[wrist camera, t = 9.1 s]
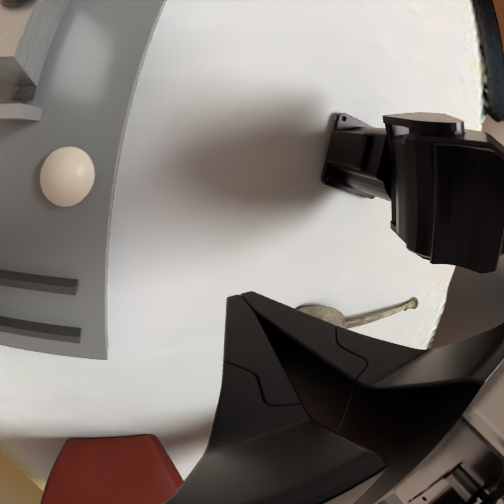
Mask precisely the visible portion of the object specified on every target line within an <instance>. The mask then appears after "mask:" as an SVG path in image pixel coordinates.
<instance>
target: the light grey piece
mask: <svg viewBox="0 0 504 504" xmlns="http://www.w3.org/2000/svg"><path fill="white" fill-rule="evenodd" d="M69 1H70V0H0V79H2V80H3V81H4V82H6V83H7V84H8V85H10V86H11V87H14V89H13V93H12V97H11V101H18V102H31V101H33V100H34V96H35V92H36V88H37V86H38V83H39V79H40V76H41V72H42V69H43V66H44V63H45V60H46V57H47V54H48V51H49V48H50V45H51V43H52V40H53V38H54V35H55V32H56V30H57V28H58V25H59V23H60V21H61V18H62V16H63V14H64V12H65V10H66V7H67V5H68V3H69Z"/></svg>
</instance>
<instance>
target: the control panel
mask: <svg viewBox="0 0 504 504" xmlns="http://www.w3.org/2000/svg"><path fill="white" fill-rule="evenodd" d="M165 3H166V0H70V1H69V3H68V5H67V7H66V10H65V12H64V14H63V16H62V18H61V21H60V23H59V25H58V28H57V30H56V32H55V35H54V38H53V40H52V43H51V45H50V48H49V51H48V54H47V57H46V60H45V63H44V66H43V69H42V72H41V76H40V79H39V83H38V86H37V88H36V92H35V96H34V100H33V101H31V102H18V101H11V97H12V93H13V89H14V87H11V86H10V85H8V84H7V83H6V82H4V81H3V80H2V79H0V345H3V346H8V347H13V348H18V349H24V350H29V351H35V352H41V353H48V354H55V355H62V356H70V357H79V358H89V359H99V360H107V356H108V332H107V267H108V248H109V234H110V223H111V213H112V204H113V196H114V189H115V182H116V175H117V169H118V163H119V157H120V152H121V147H122V141H123V137H124V132H125V127H126V123H127V118H128V114H129V110H130V106H131V102H132V98H133V95H134V91H135V87H136V84H137V80H138V77H139V74H140V70H141V67H142V64H143V61H144V58H145V55H146V52H147V49H148V46H149V43H150V40H151V38H152V35H153V32H154V30H155V27H156V24H157V22H158V19H159V17H160V14H161V12H162V10H163V7H164V5H165Z"/></svg>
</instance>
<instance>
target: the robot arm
mask: <svg viewBox="0 0 504 504" xmlns="http://www.w3.org/2000/svg"><path fill="white" fill-rule="evenodd" d="M342 116H343V118H344V120H343V121H342ZM383 122H384V123H385V127H386V128H374V127H372V126H370V125H368V124H366V123H364V122H362V121H360V120H358V119H356V118H354V117H352V116H350V115H348V114H346V113H339V114H338V115H337V118H336V122H335V126H334V131H333V133H332V137H331V141H330V145H329V149H328V152H327V156H326V162H325V166H324V170H323V174H322V177H321V181H322V183H323V184H325V185H328V186H331V187H335V188H338V189H341V190H345V191H348V192H351V193H354V194H358V195H361V196H364V197H367V198H370V199H373V198H375V196H377V197H379V198H382V199H385V200H388V201H391V205H392V221H391V229H392V230H393V231H394V232H395V233H396V234H397V235H398V236H399V237H400V238H401V239H402V240H403V241H404V242H405V243H406V248H407V249H408V250H410V251H411V252H413V253H415V254H417V255H418V256H420V257H422V258H423V259H427V260H430V263H431V264H450V265H456V266H460V267H464V268H467V269H470V270H472V271H475V272H478V273H488V272H493V271H495V270H496V269H497V266H498V262H499V257H500V256H502V255H504V146H503V145H502V144H501V143H499V142H498V141H497V140H496V139H495V138H493V137H492V136H491V135H490V134H488V133H486V132H480V131H474V130H467V129H464V121H462V120H460V119H457V118H454V117H452V116H449V115H446V114H440V113H423V112H418V113H405V114H394V115H384V116H383ZM327 177H328V178H329V179H328V181H326V179H327ZM394 492H395V493H396V494H397V496H398V497H399V498H400V499H401V501H402V502H403V503H404V504H475V503H476V502H477V498H478V497H479V498H480V499H481V500H482V501H483V502H481V503H480V504H504V323H503V324H501V325H499V326H497V327H496V328H493V329H491V330H489V331H486V332H484V333H481V334H478V335H476V336H473V337H470V338H467V339H465V340H462V341H459V342H456V343H453V344H450V345H447V346H443V347H440V348H437V349H431V350H420V349H414V348H410V347H406V346H402V345H398V344H394V343H390V342H387V341H383V340H379V339H376V338H372V337H369V336H365V335H362V334H359V333H356V332H353V331H351V330H348V329H345V328H343V327H340V326H336V325H335V324H332V323H329V322H327V321H324V320H322V319H319V318H317V317H314V316H312V315H309V314H307V313H304V312H302V311H299V310H297V309H294V308H292V307H289V306H287V305H284V304H282V303H279V302H277V301H275V300H272V299H270V298H267V297H265V296H263V295H260V294H258V293H255V292H253V291H250V292H246V293H242V294H240V295H234V296H230V297H227V302H226V319H225V337H224V357H223V374H222V384H221V390H220V396H219V401H218V405H217V409H216V413H215V417H214V422H213V426H212V430H211V434H210V438H209V441H208V444H207V447H206V450H205V452H204V454H203V456H202V458H201V459H200V460H199V462H198V463H197V465H196V466H195V467H194V469H193V470H192V471H191V473H190V474H189V475H188V477H187V478H186V479H185V481H184V482H183V483H182V485H181V486H180V487H179V489H178V490H177V491H176V493H175V494H174V495H173V496H172V497H171V498H170V499H168V500H167V501H165V502H164V503H162V504H353V503H354V502H355V503H356V504H377V503H379V502H381V501H382V500H384V499H385V498H387V497H388V496H389V495H391V494H392V493H394Z"/></svg>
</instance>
